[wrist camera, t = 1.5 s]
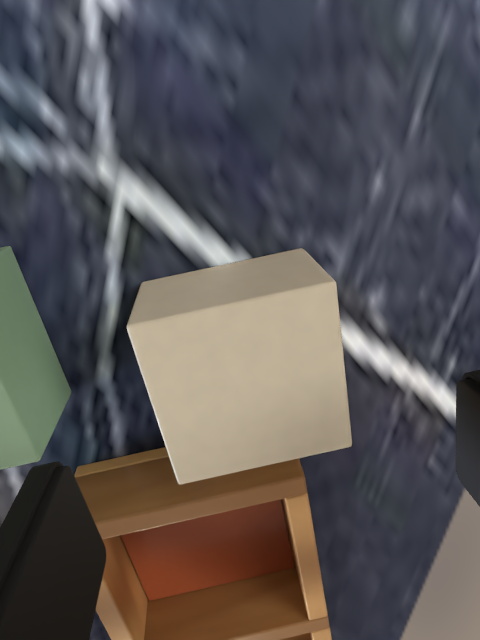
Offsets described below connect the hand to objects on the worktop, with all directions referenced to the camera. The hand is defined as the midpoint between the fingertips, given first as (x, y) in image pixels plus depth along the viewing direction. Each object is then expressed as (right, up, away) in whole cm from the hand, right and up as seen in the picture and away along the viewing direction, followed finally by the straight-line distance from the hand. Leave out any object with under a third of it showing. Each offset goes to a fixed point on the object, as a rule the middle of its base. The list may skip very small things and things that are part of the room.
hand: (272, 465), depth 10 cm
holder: (-2, -9, +10) cm, 13 cm away
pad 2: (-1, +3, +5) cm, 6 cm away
